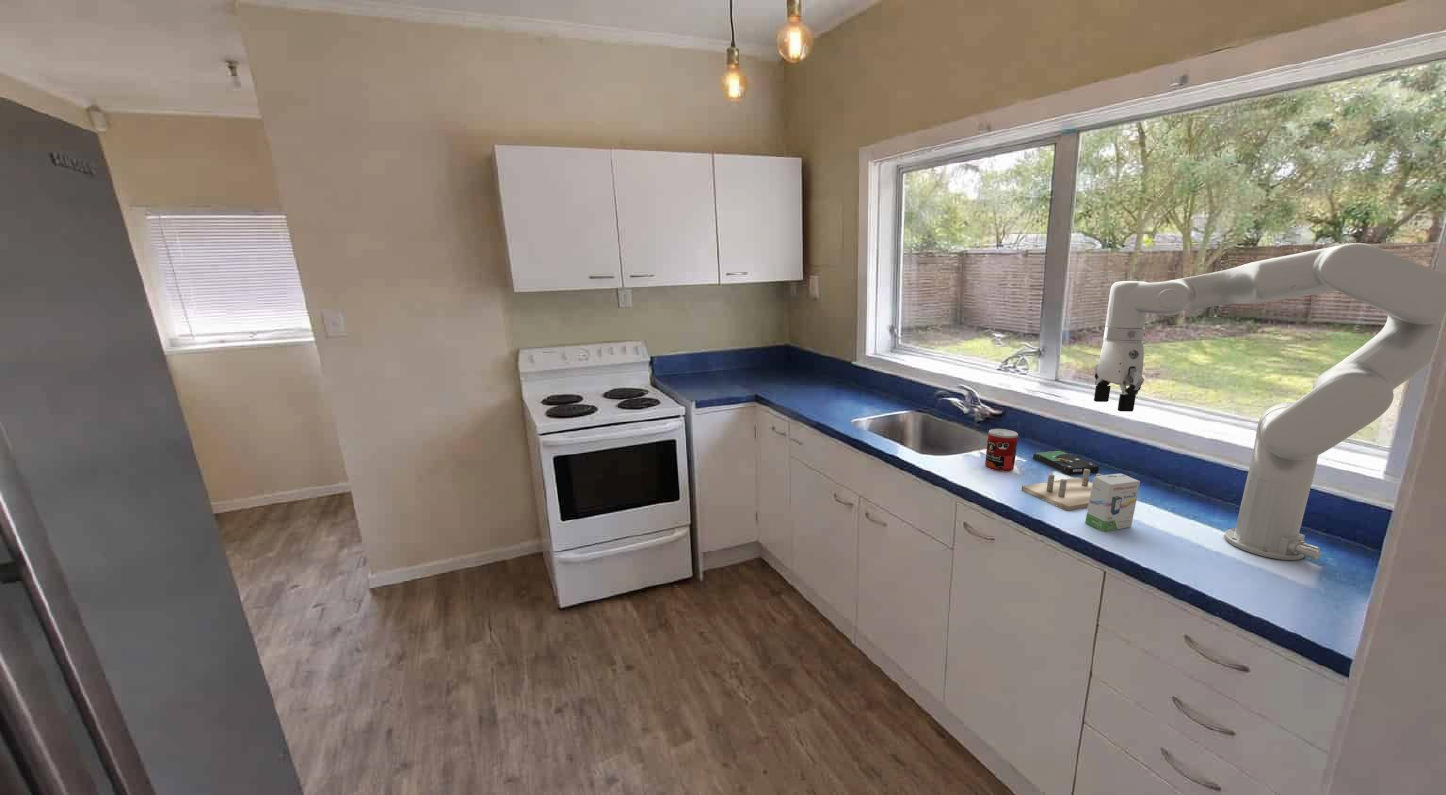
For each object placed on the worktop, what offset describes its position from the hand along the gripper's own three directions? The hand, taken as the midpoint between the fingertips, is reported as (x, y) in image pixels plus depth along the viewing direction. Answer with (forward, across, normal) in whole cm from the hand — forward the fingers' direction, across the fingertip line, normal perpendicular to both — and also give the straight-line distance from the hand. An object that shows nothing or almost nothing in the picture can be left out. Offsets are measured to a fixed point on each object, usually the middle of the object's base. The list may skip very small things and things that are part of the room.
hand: (1112, 406), depth 135 cm
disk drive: (+27, +31, -7) cm, 42 cm away
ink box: (+26, -10, +3) cm, 29 cm away
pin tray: (+26, +8, +2) cm, 27 cm away
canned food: (+26, +28, +13) cm, 40 cm away
